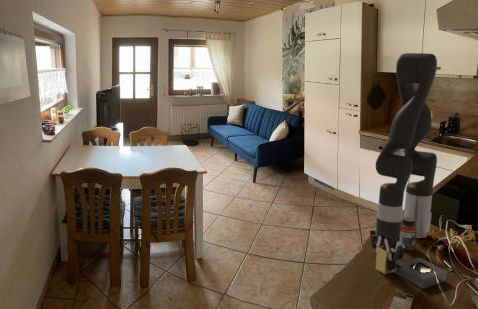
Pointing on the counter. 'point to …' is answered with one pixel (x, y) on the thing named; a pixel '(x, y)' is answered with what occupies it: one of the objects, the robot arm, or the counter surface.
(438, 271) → the grey square paddle
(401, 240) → the supplement bottle
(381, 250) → the peg
